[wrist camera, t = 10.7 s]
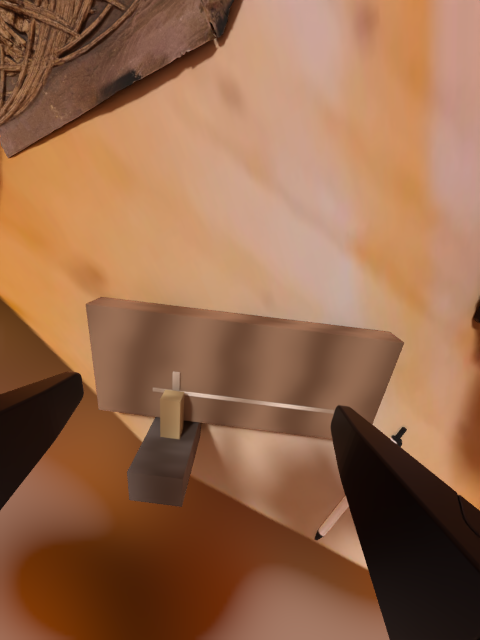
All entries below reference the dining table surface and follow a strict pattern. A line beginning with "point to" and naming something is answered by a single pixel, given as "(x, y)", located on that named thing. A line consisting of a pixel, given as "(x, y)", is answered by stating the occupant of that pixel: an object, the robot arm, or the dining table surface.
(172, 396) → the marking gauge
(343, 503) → the pen
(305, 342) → the gray rectangular board
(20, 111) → the wooden fragment
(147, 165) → the dining table surface
